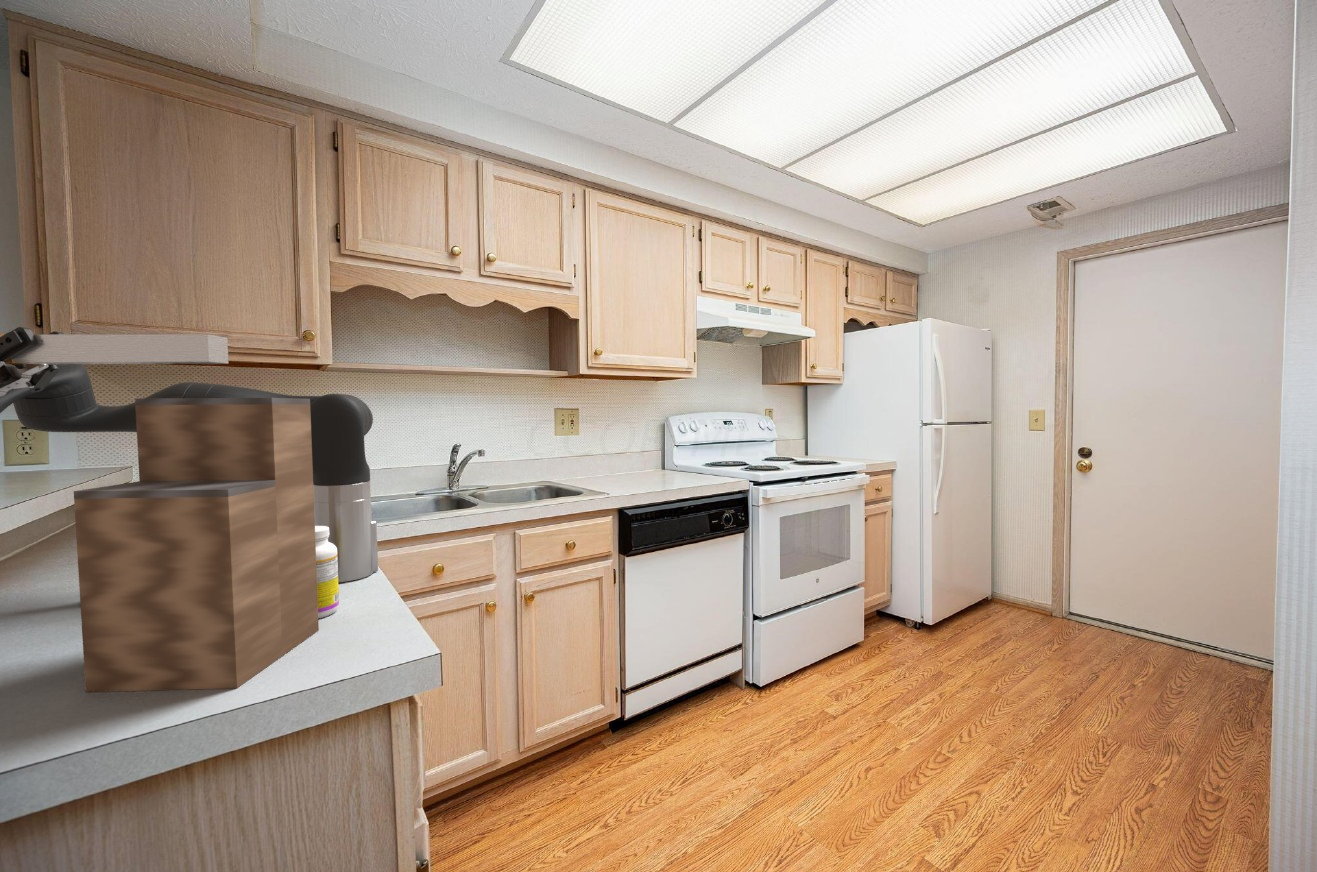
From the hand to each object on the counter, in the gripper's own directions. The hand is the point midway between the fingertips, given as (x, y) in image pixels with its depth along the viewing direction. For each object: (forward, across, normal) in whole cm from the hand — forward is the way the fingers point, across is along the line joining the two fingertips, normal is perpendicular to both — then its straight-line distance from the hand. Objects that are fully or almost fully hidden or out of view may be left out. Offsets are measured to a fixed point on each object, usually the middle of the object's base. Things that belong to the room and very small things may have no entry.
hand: (47, 337), depth 63 cm
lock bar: (+4, 0, +6) cm, 7 cm away
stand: (-8, +4, +41) cm, 41 cm away
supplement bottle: (-4, +18, +42) cm, 47 cm away
